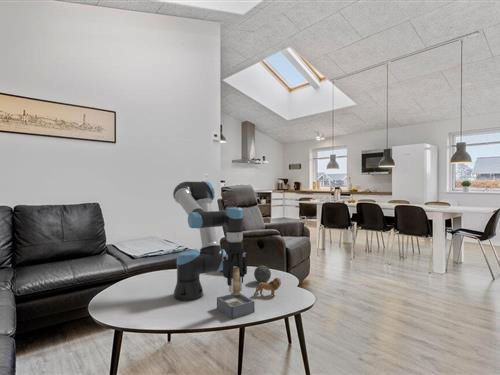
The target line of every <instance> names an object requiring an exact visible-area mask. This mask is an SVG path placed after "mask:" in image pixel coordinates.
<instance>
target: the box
mask: <svg viewBox="0 0 500 375" xmlns="http://www.w3.org/2000/svg"><path fill="white" fill-rule="evenodd" d="M216 309H218V310H219V311H221V312H222V313H223V314H225V315H226V316H227V317H229V318H230V319H231V320H233V319H236V318H240V317H243V316H246V315H249V314H253V313H255V312H256V310H255V300H253V299H251V298H250V297H248V296H246V295H245V294H243V293H241V292H240V294H239V295H232V294H231V293H230V294H225V295H221V296H218V297H216Z"/></svg>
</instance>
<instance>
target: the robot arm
mask: <svg viewBox="0 0 500 375" xmlns="http://www.w3.org/2000/svg"><path fill="white" fill-rule="evenodd" d="M215 192H216V191H215V188H214V185H213V184H212V183H211V182H209V181H203V180H202V181H183V182H180V183H179V184H177V185H176V186H175V187H174V189H173V193H172V194H173V195H172V196H173V200H174V201H175V202H176V203H177V204H178V205H180V206H181V207H182V209H183V210H184V211H185V214H187V224H188V227H189V228H190V229H199V233H200V239H201V247H200V248H199V249H198V248H197V249H196V248H195V249H193V248H192V249H185V250H184V251H180V252H179V253H178V254H177V255H176V256H177V257H176V284H175V288H174V291H173V299H175V300H178V301H182V302H183V301H187V302H189V301H194V300H197V299H199V298H202V297H203V296H204V290H203V286H202V284H201V281H200V276H201V275H204V274H209V273H217V272H220V271H221V270H223V272H222V273H223V274H222V275H223V277H224V278H225V279H227V280H226V282H227V286H228V292H229V293H230V294H231V293H233V278H232V272H233V266H234V263H235V261H236V262H237V267H240V292H242V291H243V283H244V277H246V276H245V275H247V274H248V256H249V253H248V252H244V250H243V249H244V242H243V238H244V235H243V232H244V227H243V226H244V225H243V221H244V220H243V217H244V215H243V214H244V213H243V209H242V207H227V208H226V210H224V209H223V210H222V209H221V210H216V211H215V210H213V211H212V205H211V204H212V203H213V200H214V199H215ZM219 227H226V249H227V250H226V251H225V249H224V248H222V247H221V244H220V243H218V239H217V235H216V228H219ZM227 257H228V258H229V266H228V262H227V260H228V259H227Z"/></svg>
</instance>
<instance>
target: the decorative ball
mask: <svg viewBox="0 0 500 375" xmlns="http://www.w3.org/2000/svg"><path fill="white" fill-rule="evenodd" d="M271 274H272V272H271V269H270V268H269V267H268V266H266V265H259V266H257V267H255V269H254V273H253V275H254V276H253V277H254V278H255V280H256V281H257V282H258V283H261V282H263V283H267V282H268V281H269V280H270V278H271V276H272V275H271Z"/></svg>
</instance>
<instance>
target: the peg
mask: <svg viewBox="0 0 500 375" xmlns="http://www.w3.org/2000/svg"><path fill="white" fill-rule="evenodd" d="M232 278H233V293H231V292H230V294H232V295H239V294H240V293H241V291H240V267H233V272H232Z"/></svg>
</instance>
